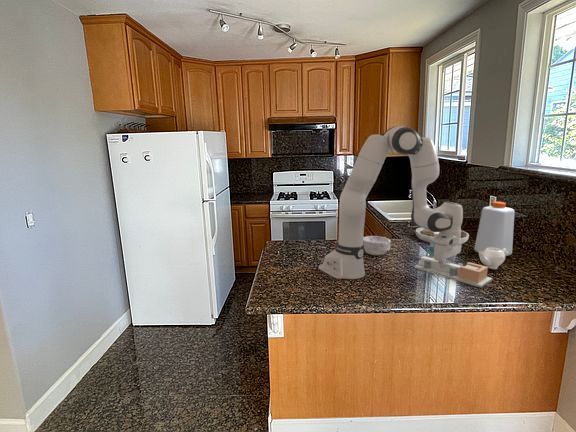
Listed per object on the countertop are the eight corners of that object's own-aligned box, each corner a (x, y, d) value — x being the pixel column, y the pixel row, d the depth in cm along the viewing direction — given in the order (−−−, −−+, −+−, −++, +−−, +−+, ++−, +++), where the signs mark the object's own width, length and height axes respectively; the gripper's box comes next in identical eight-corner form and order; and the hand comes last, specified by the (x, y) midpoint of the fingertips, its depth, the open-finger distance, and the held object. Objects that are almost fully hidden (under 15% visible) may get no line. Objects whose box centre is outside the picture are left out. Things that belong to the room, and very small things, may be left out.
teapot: (515, 267, 164) (518, 249, 162) (486, 273, 156) (488, 254, 154) (497, 261, 173) (499, 243, 171) (468, 267, 165) (470, 248, 163)
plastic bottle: (488, 247, 196) (494, 199, 190) (515, 255, 182) (522, 203, 176) (470, 251, 189) (476, 201, 183) (497, 259, 176) (504, 206, 170)
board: (414, 267, 164) (415, 256, 163) (426, 262, 172) (427, 250, 170) (481, 287, 142) (482, 274, 140) (492, 280, 149) (493, 267, 148)
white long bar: (419, 264, 166) (420, 255, 165) (424, 262, 168) (424, 254, 168) (473, 279, 147) (474, 270, 146) (477, 277, 150) (479, 267, 149)
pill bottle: (446, 257, 178) (449, 232, 175) (441, 261, 173) (443, 235, 170) (431, 254, 183) (434, 230, 180) (426, 258, 178) (428, 233, 175)
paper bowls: (379, 247, 196) (380, 234, 194) (395, 255, 182) (396, 241, 180) (356, 250, 191) (356, 236, 190) (370, 258, 177) (371, 244, 175)
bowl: (406, 239, 213) (407, 227, 211) (428, 231, 233) (429, 219, 231) (455, 250, 191) (457, 236, 190) (475, 240, 211) (477, 227, 209)
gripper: (452, 231, 164) (450, 259, 167) (432, 239, 151) (429, 269, 154) (466, 234, 159) (463, 262, 162) (446, 242, 146) (443, 273, 149)
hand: (446, 265), depth 158 cm, fingers open, 8 cm apart
